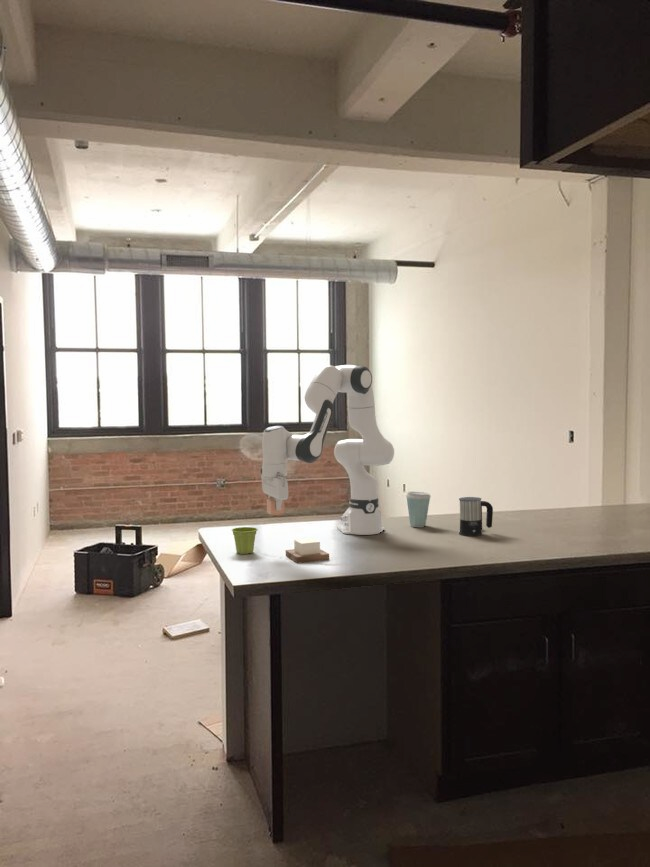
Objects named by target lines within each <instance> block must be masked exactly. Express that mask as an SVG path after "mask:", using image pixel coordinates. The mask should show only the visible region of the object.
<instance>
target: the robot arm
mask: <svg viewBox="0 0 650 867" xmlns="http://www.w3.org/2000/svg"><path fill="white" fill-rule="evenodd" d="M372 383H373V374H372V371H370V369H369V368H368V367H366V366H364V365H359V364H358V365H355V364H343V365H332V364H327V365H324V366H322V367H321V368H320V369H319V370H318V372H317V373H316V374H315V375H314V377H313V378H312V380H311V381H310V383H309V385H308V387H307V388H306V391H305V394H304V402H305V404H306V406H307V407H308V408H309V409H310V410H311V411H312V412H313V413H315V417H314V420H313V423H312V425H311V428H310V430H309V432H308V433H307V432H306V433H305V434H297V433H296V434H295V433H293V432H290V431H288V430H287V429H286V428H285V427H284V426H283V425H273V426H269V427H266V428H265V429H264V430H263V433H262V442H261V452H262V456H263V459H262V464H261V465H262V466H261V467H260V468H259V473H260V475H261V477H260V478H261V489H262V492H263V494H266V495H268V497H267V499H275V498H276V505H275V509H276V510H277V511H278V510H281V505H282V500H284V501H285V500H288V499H289V483H288V479H287V478H286V476H288V461H289V460H290V461H297V462H303V463H307V464H312V463H315V462H316V461H317V460H319V458H320V456H321V455H322V452H323V447H324V446H323V445H324V441H325V439H326V436H327V433H328V430H329V428H330V425H331V422H332V419H333V416H334V411H335V406H334V401H335V399H336V397H337V395H338V393H344V394H347V413H348V414H347V415H348V416H347V417H348V425H349V426H350V428H351V429H352V430H354V431H356V432H357V433H359V435H360V436H361V438H347V439H346V438H345V439H341V440H338V441H337V442H336V443H335V446H334V450H333V455H334V458H335V460H336V461H337V462H338V464H340V465H341V466H342V467H343V468H344V469H345V471H346V472H347V475H348V479H349V482H350V483H349V484H350V498H349V501H348V508H347V509H346V510H345V511H344V512H343V514H342V515H341V516H340V522H341V523H340V524H337V525H336V528H337V529H338V531H341V533H343V534H347V535H359V536H362V535H363V536H364V535H365V536H366V535H368V536H371V535H377V534H381V533H382V532H383V530H384V531H386V530H385V527H384V526H383V521H382V520H383V518H382V511H381V510H380V509H379V507H380V506H379V504H380V502H379V498H378V481H377V478H376V477H375V476H374V475H372V474H370V473H369V472H368V471H367V470H366V468H365V466H371V467H373V466H376V467H377V466H379V467H380V466H385V465H386V466H387V465H388V464H390V463H391V462H392V461H393V460H394V457H395V448H394V445H393V444H392V443H391V442H390V441H389V440H388V439H387V438H385V436H384V435H383V434H382V433H381V431H380V429H379V427H378V425H377V419H376V418H377V416H376V408H375V396H374V391H373V387H372ZM287 460H288V461H287ZM380 532H381V533H380Z"/></svg>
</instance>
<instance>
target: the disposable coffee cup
mask: <svg viewBox="0 0 650 867" xmlns="http://www.w3.org/2000/svg"><path fill="white" fill-rule="evenodd" d="M405 496H406V497H405V498H406V502H407V503H406V504H407V509H408V510H407V511H408V518H409V523H410V526H411V527H412V528H423V527H424V526H425V527H426V524H427V519H428V518H427V517H428V514H429V513H428V512H429V507H430V506H429V505H430V501H431V494H430V493H427V492H424V491H407V493H406V495H405Z"/></svg>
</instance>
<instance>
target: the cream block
mask: <svg viewBox="0 0 650 867" xmlns="http://www.w3.org/2000/svg"><path fill="white" fill-rule="evenodd" d="M293 542H294V550H295V552H297V553H299V554H300V555H307V554H316V553H320V549H321V542H320V541H319V540H317V539H315V538H313V537H310V538H302V539H293Z"/></svg>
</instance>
